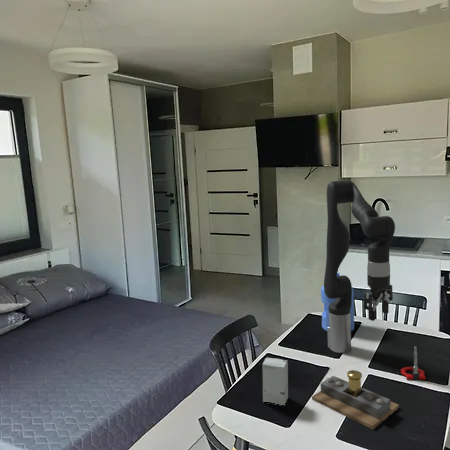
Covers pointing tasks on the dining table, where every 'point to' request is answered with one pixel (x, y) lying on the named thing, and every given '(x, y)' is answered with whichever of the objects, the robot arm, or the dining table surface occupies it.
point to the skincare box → (275, 381)
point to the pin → (354, 382)
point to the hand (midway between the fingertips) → (378, 316)
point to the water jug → (326, 309)
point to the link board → (354, 402)
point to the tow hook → (414, 370)
